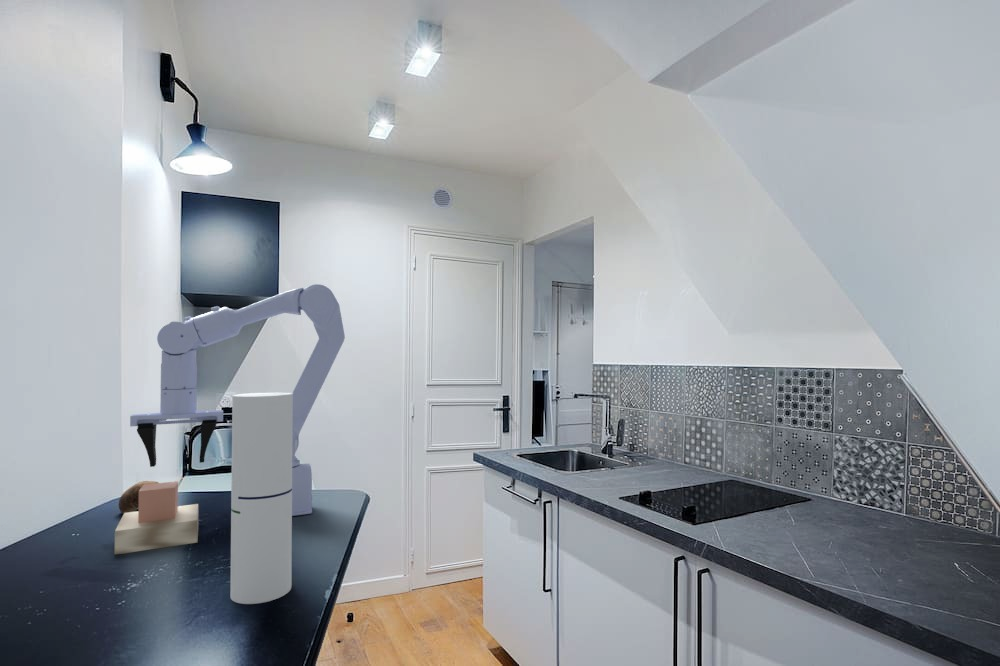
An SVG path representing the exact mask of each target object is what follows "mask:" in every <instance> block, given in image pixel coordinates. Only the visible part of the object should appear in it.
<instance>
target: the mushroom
mask: <svg viewBox="0 0 1000 666" xmlns="http://www.w3.org/2000/svg"><path fill="white" fill-rule="evenodd" d="M155 483H159V482H158V481H155V480H142V481H139V482H137V483H135V484H133V485H132V486H130V487H129V488H128V489H126V490H125V491H124V492H123V493H122V494H121V496H120V498H119V500H118V509H119V511H120V513H121V514H123V515H124V513H127V512H136V511H137V510H138V511H139V490H140V489H141V487H142V486H143V485H144V484H155Z"/></svg>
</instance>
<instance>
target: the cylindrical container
mask: <svg viewBox="0 0 1000 666" xmlns="http://www.w3.org/2000/svg"><path fill="white" fill-rule="evenodd" d="M231 403H232V406H231V408H232V409H231V411H232V412H231V413H232V414H231V416H232V417H231V418H232V419H231V482H230V484H231V487H230V488H231V490H230V491H231V492H230V493H231V494H230V497H231V499H230V502H231V503H230V507H231V508H230V509H231V510H230V512H231V513H230V590H229V591H230V594H229V595H230V600H231V601H232V602H234V603H237V604H242V605H254V604H255V605H256V604H262V603H267V602H271V601H273V600H276V599H279V598H281V597H283V596H286V594H287V595H288V593H289V592H290V591H291V590H292V578H293V577H292V574H293V573H292V571H293V570H292V567H293V566H292V563H293V562H292V557H293V556H292V553H293V551H292V547H293V545H292V543H293V542H292V541H293V540H292V539H293V538H292V536H293V535H292V533H293V530H292V529H293V522H292V521H293V520H292V519H293V516H292V419H293V392H283V391H282V392H281V391H277V392H274V391H273V392H249V393H248V392H247V393H238V394H232V402H231Z"/></svg>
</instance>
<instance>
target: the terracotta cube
mask: <svg viewBox="0 0 1000 666" xmlns="http://www.w3.org/2000/svg"><path fill="white" fill-rule="evenodd" d="M178 490H179V481H178V480H177V481H167V482H158V483H155V484H144V485H143V486H142V487H141V489H140V490H139V509H138V523H142V522H150V521H158V520H166V519H174V518H175V516H176V514H177V511H178V506H179V499H178V497H179V492H178Z"/></svg>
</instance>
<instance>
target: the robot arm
mask: <svg viewBox="0 0 1000 666" xmlns="http://www.w3.org/2000/svg"><path fill="white" fill-rule="evenodd" d="M210 310H211V311H208V312H205V313H204V314H203V313H202V314H200V315H196V316H195V317H192V316H190V315H189V316H186V317H184V318H183V320H184V322H183V321H176V320H175V321H174V320H173V321H171V322H169V323H167V324H166V325H164V326H162V328H161V329H159V331H158V333H157V337H156V340H157V344H158V346H159V348H160V349H161V363H160V403H159V404H160V408H159V409H160V412H150V413H149V412H148V413H137V414H131V415H130V418H129V419H130V420H129V421H130V423H129V426H130V427H137V429H136V432H137V434H138V436H139V437H140V439H141V442H142V444H143V446H144V447H145V450H146V453H147V456H148V460H149V467H151V468H152V467H153V468H154V467H156V466H157V452H156V451H157V450H156V441H157V439H156V438H157V425H175V424H191V423H193V424H194V423H201V424H200V452H199V463H200V464H201V463H205V457H206V452H207V448H208V445H209V443H210V439H211V437H212V436H213V433H214V431H215V429H216V427H217V422H224V410H222V409H219V410H197V406H198V404H197V402H198V401H197V400H198V399H197V398H198V397H197V390H198V389H197V387H198V386H197V385H198V384H197V383H198V379H197V378H198V364H197V350H198V349H199V348H200V347H202V348H205V347H207V346H210V345H214V344H216V343H220V342H223V341H225V340H227V339H230V338H233V337H236V336H238V335H239V334H240V333H241V329H242V328H243V327H244V326H246V325H249V324H254V323H257V322H259V321H262V320H265V319H270V318H272V317H276V316H278V315H282V314H292V315H295V316H296V315H297V316H301V315H302V311H303V312H304V313H305V315H306V316H307V317H308V318H309V320H310V321H311V322H312V323H313V327H314V329H315V332H316V333H317V336H318V340H317V342H316V344H315V347H314V348H313V350H312V352H311V354H310V357H309V358H308V361H307V363H306V365H305V367H304V368H303V370H302V373H301V375H300V377H299V378H298V380H297V383H296V384H295V386H294V388H293V391H292V393H293V419H292V517H295V516H302V515H310V514H312V513H313V509H312V508H313V507H312V506H313V503H312V502H313V476H312V467H311V463H301V462H300V459H298V457H296V453H297V451H298V448H299V444H300V441H299V437H300V433H301V430H302V429H303V426H304V424H305V422H306V420H307V418H308V416H309V413H311V410H312V408H313V407H314V404H315V401H316V399H317V397H318V395H319V393H320V392H321V389H322V387H323V385H324V383H325V382H326V381H325V380H326V379H327V377H328V375H329V372H330V371H331V369H332V366H333V364H334V362H335V361H336V359H337V357H338V354H339V352H340V350H341V348H342V347H343V344H344V342H345V338H346V337H345V331H344V325H343V320H342V319H343V318H342V313H341V308H340V304H339V302H338V299H337V298H336V296H335V294H334V293H333V291H332V290H331V289H330V288H329V287H327V286H325V284H324V285H323V284H317V283H315V284H312V285H309V286H307V287H305V288H304V287H299V288H295V289H292V290H287V291H285V292H281V293H278V294H276V295H274V296H270V297H267V298H266V299H262V300H260V301H258V302H254V303H252V304H249V305H247V306H245V307H241V308H239V309H235V310H234V309H232V308H229V307H228V306H223V307H220V306H218V305H216V306H212V307H210Z"/></svg>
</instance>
